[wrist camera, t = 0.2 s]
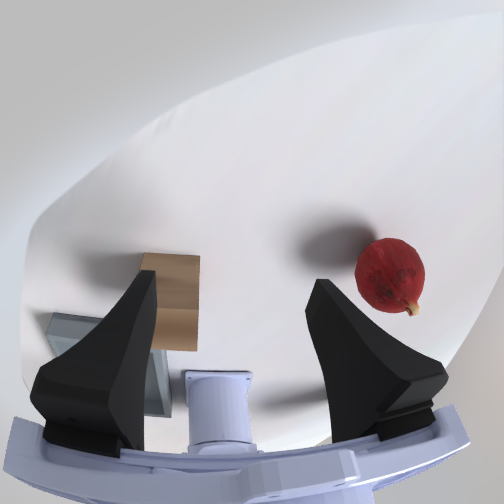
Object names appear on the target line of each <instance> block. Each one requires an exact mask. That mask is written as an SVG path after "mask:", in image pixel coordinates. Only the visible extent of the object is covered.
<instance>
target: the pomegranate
mask: <svg viewBox="0 0 504 504" xmlns="http://www.w3.org/2000/svg"><path fill="white" fill-rule="evenodd" d="M355 279H356V283H357V287H358V291H359V293H360V294H361V296H362V297H363V298H364V299H365V300H366V301H367V302H368V303H369V304H370V305H371V306H372V307H373V308H375V309H377V310H379V311H382V312H387V313H399V312H404V311H407V312H408V314H409V316H414V315H417V314H418V310H419V305H418V304H417V300H418V299H419V297H420V295H421V293H422V290H423V285H424V280H425V270H424V266H423V263H422V261H421V259H420V257H419V255H418V253H417V252H416V250H415V249H414V248H413V247H411V246H410V245H409V244H407V243H405V242H404V241H402V240H399V239H394V238H384V239H381V240H377V241H374V242H373V243H371V244H370V245H368V246H367V247H366V248H365V249H364V251H363V252H362V253H361V254H360V256H359V257H358V260H357V264H356V269H355Z"/></svg>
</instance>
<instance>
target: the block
mask: <svg viewBox="0 0 504 504" xmlns="http://www.w3.org/2000/svg"><path fill="white" fill-rule="evenodd" d="M141 270H154V271H156V290H157V305H158V306H157V316H156V325H155V330H154V335H153V340H152V345H151V349H160V350H176V351H197V340H198V313H199V273H200V256H194V255H176V254H159V253H144V256H143V259H142V263H141V266H140V270H139V272H140V271H141Z"/></svg>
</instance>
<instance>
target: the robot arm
mask: <svg viewBox="0 0 504 504" xmlns="http://www.w3.org/2000/svg"><path fill="white" fill-rule="evenodd" d="M157 306H158V305H157V290H156V271H154V270H141V271H140V272H139V273H138V275H137V276H136V278H135V279H134V281H133V282H132V284H131V285H130V286H129V288H128V289H127V291H126V292H125V293H124V294H123V296H122V297H121V298H120V300H119V301H118V302H117V304H116V305H115V306H114V307H113V308H112V309H111V311H110V312H109V313H108V314H107V315H106V316H105V317H104V318H103V320H102V321H101V322H100V323H99V324H98V325H97V326H96V327H95V328H94V329H92V330H91V331H90V332H89V333H88V334H87V335H86V336H85V337H84V338H82V339H81V340H80V341H79V342H78V343H76V344H75V345H74V346H72V347H71V348H70V349H68V350H67V351H65V352H64V353H63V354H61V355H60V356H58V357H56V358H55V359H53V360H51V361H50V362H48V363H46V364H45V365H43V366H41V367H40V369H39V371H38V373H37V375H36V378H35V381H34V384H33V387H32V391H31V394H30V400H31V402H32V404H33V405H34V407H35V408H36V409H37V410H38V412H39V413H40V414H41V415H42V416H43V417H44V418H45V419H46V424H45V427H43V426H42V425H40V424H37V423H35V422H32V421H28V420H25V419H22V418H19V417H14V420H13V424H12V427H11V432H10V436H9V440H8V445H7V450H6V455H5V460H4V466H3V470H4V471H5V472H6V473H8V474H10V475H11V476H13V477H15V478H17V479H18V480H20V481H22V482H24V483H26V484H28V485H30V486H32V487H34V488H37V489H39V490H42V491H45V492H48V493H51V494H54V495H57V496H60V497H64V498H67V499H70V500H74V501H77V502H81V503H85V504H375V500H374V497H373V493H372V492H374V491H377V490H379V489H382V488H385V487H387V486H390V485H392V484H395V483H397V482H400V481H402V480H405V479H407V478H409V477H412V476H414V475H416V474H418V473H421V472H423V471H425V470H427V469H429V468H431V467H433V466H436V465H437V464H440V463H441V462H443V461H445V460H446V459H448V458H449V457H451V456H453V455H454V454H455V453H457V452H459V451H460V450H462V449H463V448H465V447H466V446H467V445H469V444H470V439H469V437H468V435H467V432H466V430H465V428H464V426H463V424H462V421H461V419H460V417H459V415H458V413H457V411H456V409H455V407H454V405H453V404H450V405H448V406H445V407H442V408H440V409H437V410H436V411H434V412H432V409H431V407H432V406H433V402H432V398H433V397H434V396H435V395H436V394H437V393H438V392H439V391H440V390H441V389H442V388H443V387H444V386H445V384H446V383H447V381H448V377H449V376H448V374H447V373H446V371H445V369H444V367H443V365H442V363H441V362H439V361H437V360H434V359H432V358H430V357H427V356H425V355H423V354H421V353H419V352H417V351H415V350H413V349H411V348H410V347H408V346H406V345H405V344H403V343H401V342H400V341H398V340H397V339H395V338H394V337H392V336H391V335H389V334H388V333H387V332H385V331H384V330H383V329H381V328H380V327H379V326H378V325H376V324H375V323H374V322H373V321H372V320H371V319H369V318H368V317H367V316H366V315H365V314H364V313H363V312H362V311H361V310H360V309H358V308H357V307H356V306H355V305H354V304H353V303H352V302H351V301H350V300H349V299H348V298H347V297H346V296H345V295H344V294H343V293H342V292H341V291H340V290H339V289H338V288H337V287H336V286H335V285H334V284H333V283H332V282H331V281H330V280H329V279H316V282H315V285H314V288H313V290H312V293H311V296H310V298H309V301H308V304H307V307H306V309H305V313H306V319H307V324H308V329H309V332H310V336H311V339H312V342H313V345H314V348H315V350H316V353H317V356H318V359H319V362H320V365H321V369H322V372H323V376H324V381H325V386H326V391H327V397H328V404H329V411H330V419H331V430H332V444H328V445H322V446H316V447H309V448H303V449H295V450H287V451H277V452H266V453H264V451H262V450H258V451H257V445H256V444H253V439H252V432H251V424H250V417H249V409H248V402H247V394H248V391H249V387H250V384H251V381H252V377H253V374H252V373H251V372H194V371H187V372H185V388H186V406H187V407H188V408H189V445H190V446H188V454H187V453H184V452H183V453H182V454H172V453H158V452H148V451H144V399H145V381H146V371H147V365H148V360H149V355H150V350H151V345H152V340H153V335H154V330H155V325H156V316H157Z"/></svg>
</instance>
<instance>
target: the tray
mask: <svg viewBox="0 0 504 504" xmlns="http://www.w3.org/2000/svg"><path fill="white" fill-rule="evenodd" d="M102 320H103V319H101V318H92V317H84V316H76V315H68V314H60V313H54V315H53V317H52V319H51V322H50V324H49V326H48V329H47V331H46V334H45V335H46V337H47V339H48V341H49V343H50V345H51V347H52V349H53V351H54V353H55V355H56V357H58V356H60V355H61V354H63V353H64V352H65V351H67V350H68V349H70V348H71V347H72V346H74V345H75V344H76V343H78V342H79V341H80V340H81V339H82V338H84V337H85V336H86V335H87V334H88V333H89V332H90V331H91V330H92V329H94V328H95V327H96V326H97V325H98V324H99V323H100V322H101V321H102ZM171 413H172V396H171V389H170V381H169V373H168V365H167V356H166V350H160V349H151V350H150V355H149V360H148V365H147V371H146V381H145V399H144V416H152V417H165V418H171Z"/></svg>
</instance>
